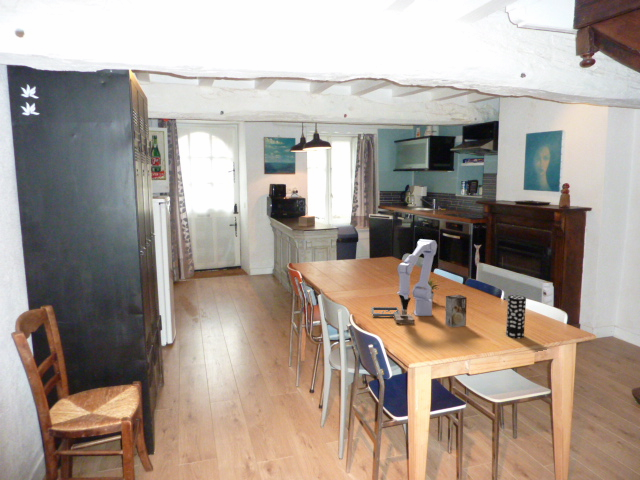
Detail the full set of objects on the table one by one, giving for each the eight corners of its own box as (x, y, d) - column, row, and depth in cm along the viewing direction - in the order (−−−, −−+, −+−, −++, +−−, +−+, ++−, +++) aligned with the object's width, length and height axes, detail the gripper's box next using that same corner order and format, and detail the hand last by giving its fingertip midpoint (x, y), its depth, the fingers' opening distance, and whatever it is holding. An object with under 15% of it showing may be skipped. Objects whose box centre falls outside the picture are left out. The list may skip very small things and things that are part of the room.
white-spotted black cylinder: (519, 332, 238) (521, 295, 235) (527, 338, 230) (529, 299, 227) (503, 333, 238) (505, 295, 235) (510, 338, 230) (512, 299, 227)
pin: (407, 312, 260) (407, 299, 258) (408, 315, 256) (408, 301, 255) (400, 312, 260) (400, 299, 259) (401, 315, 256) (401, 301, 255)
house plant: (422, 305, 288) (422, 280, 286) (412, 300, 302) (412, 275, 299) (442, 303, 292) (443, 278, 290) (431, 298, 305) (432, 274, 303)
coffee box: (459, 322, 255) (460, 294, 253) (466, 326, 249) (467, 297, 247) (444, 324, 253) (445, 295, 251) (451, 327, 247) (452, 298, 245)
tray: (397, 310, 279) (397, 307, 279) (400, 317, 265) (400, 314, 265) (371, 310, 280) (371, 307, 280) (372, 317, 266) (372, 313, 266)
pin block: (411, 318, 263) (411, 314, 263) (414, 324, 253) (414, 319, 253) (394, 318, 263) (394, 314, 263) (396, 324, 254) (396, 319, 253)
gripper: (395, 281, 263) (395, 304, 265) (399, 287, 248) (398, 312, 250) (408, 281, 262) (408, 304, 264) (412, 287, 248) (411, 312, 250)
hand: (404, 308), depth 257 cm, fingers closed on pin, 4 cm apart
